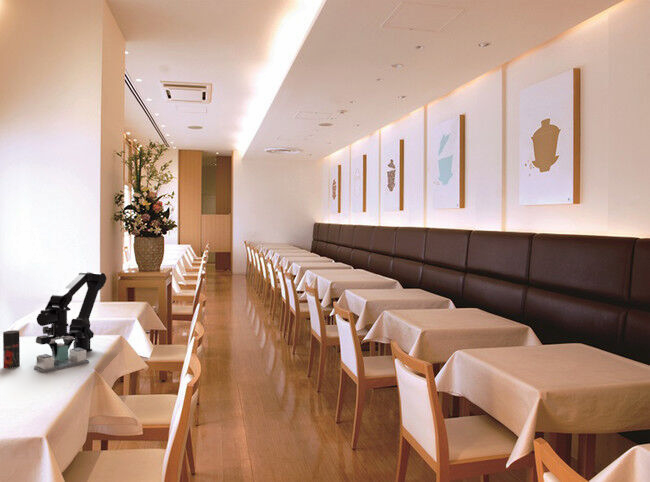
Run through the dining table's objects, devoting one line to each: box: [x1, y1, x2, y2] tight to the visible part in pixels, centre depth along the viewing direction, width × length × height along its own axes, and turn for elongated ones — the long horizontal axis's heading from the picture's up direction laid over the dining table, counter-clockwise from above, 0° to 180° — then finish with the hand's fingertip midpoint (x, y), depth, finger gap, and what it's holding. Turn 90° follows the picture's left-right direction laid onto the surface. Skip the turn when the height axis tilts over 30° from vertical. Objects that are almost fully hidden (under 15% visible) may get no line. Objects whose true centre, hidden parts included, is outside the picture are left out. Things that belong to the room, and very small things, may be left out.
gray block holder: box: [33, 347, 90, 374], centre depth 216 cm, size 19×9×6 cm, turn 144°
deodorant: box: [2, 329, 21, 369], centre depth 214 cm, size 6×6×15 cm
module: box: [51, 342, 69, 361], centre depth 227 cm, size 4×6×6 cm, turn 54°
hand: (60, 355), depth 228 cm, fingers closed on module, 4 cm apart
